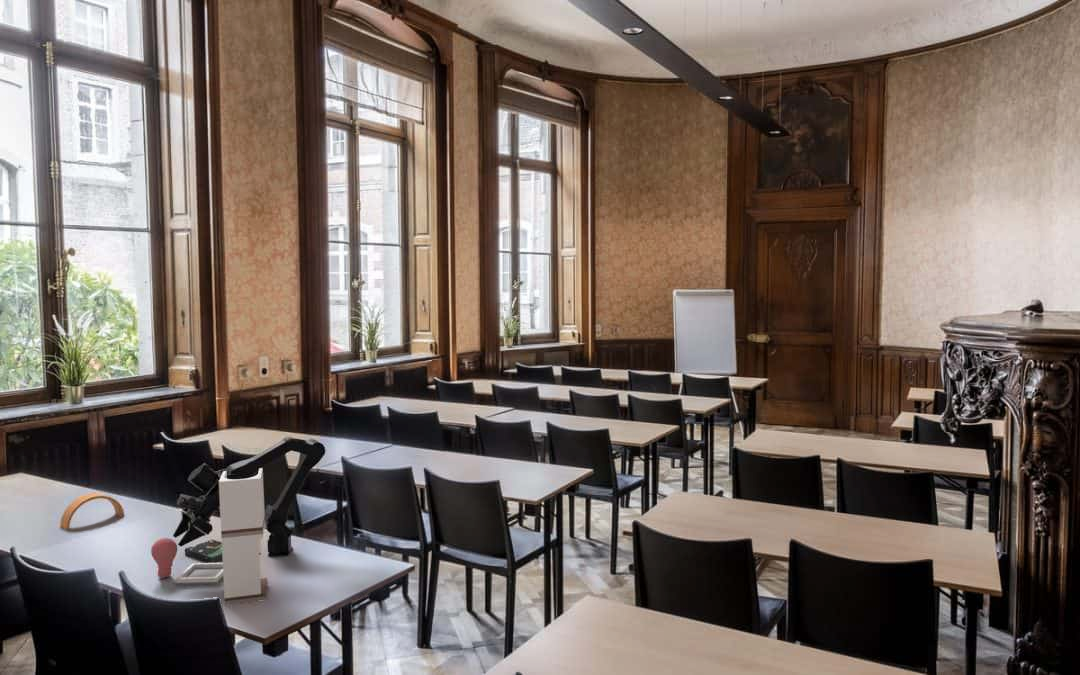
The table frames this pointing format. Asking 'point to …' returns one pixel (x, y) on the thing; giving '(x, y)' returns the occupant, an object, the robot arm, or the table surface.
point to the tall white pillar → (242, 537)
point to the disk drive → (206, 551)
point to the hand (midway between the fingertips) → (176, 541)
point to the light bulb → (164, 555)
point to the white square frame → (201, 575)
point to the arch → (80, 501)
